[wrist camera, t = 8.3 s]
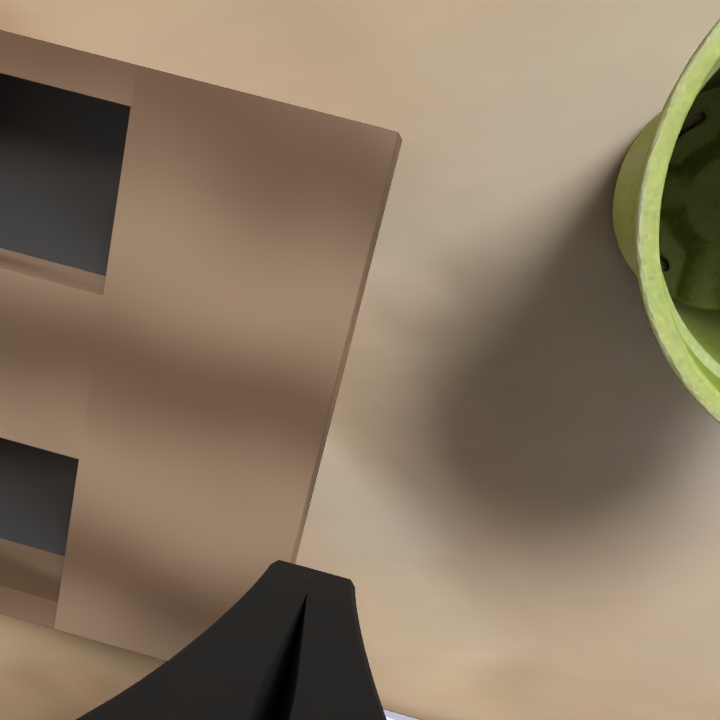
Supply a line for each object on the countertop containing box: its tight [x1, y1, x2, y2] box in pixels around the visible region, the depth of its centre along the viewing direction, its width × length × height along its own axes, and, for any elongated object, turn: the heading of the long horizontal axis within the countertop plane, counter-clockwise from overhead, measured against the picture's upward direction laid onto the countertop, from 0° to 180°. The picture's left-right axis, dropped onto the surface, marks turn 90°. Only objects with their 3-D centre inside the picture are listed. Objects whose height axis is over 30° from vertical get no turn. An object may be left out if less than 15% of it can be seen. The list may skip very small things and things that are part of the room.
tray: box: [0, 30, 402, 661], centre depth 19 cm, size 17×16×4 cm
